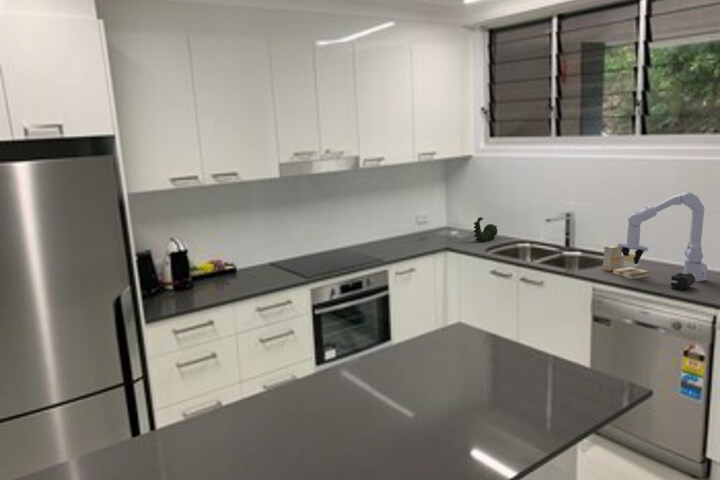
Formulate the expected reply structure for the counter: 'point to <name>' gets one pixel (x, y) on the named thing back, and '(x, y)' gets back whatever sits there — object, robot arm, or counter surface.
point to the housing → (630, 260)
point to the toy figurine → (487, 233)
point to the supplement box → (612, 257)
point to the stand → (631, 272)
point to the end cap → (682, 281)
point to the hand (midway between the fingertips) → (631, 262)
